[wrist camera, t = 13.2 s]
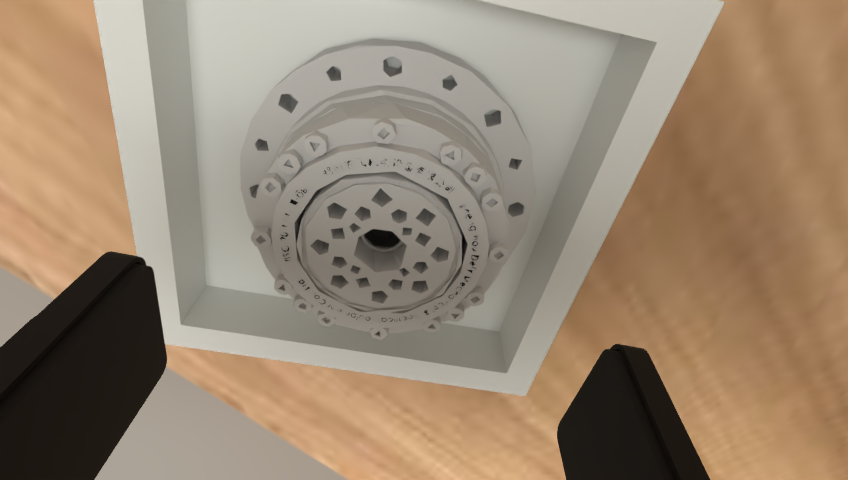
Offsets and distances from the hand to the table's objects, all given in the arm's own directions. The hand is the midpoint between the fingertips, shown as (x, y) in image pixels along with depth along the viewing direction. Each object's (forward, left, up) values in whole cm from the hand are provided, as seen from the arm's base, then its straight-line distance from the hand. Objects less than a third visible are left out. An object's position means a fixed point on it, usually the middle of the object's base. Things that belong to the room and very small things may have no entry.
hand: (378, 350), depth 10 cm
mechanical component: (0, 0, -9) cm, 9 cm away
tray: (+1, 0, -9) cm, 9 cm away
